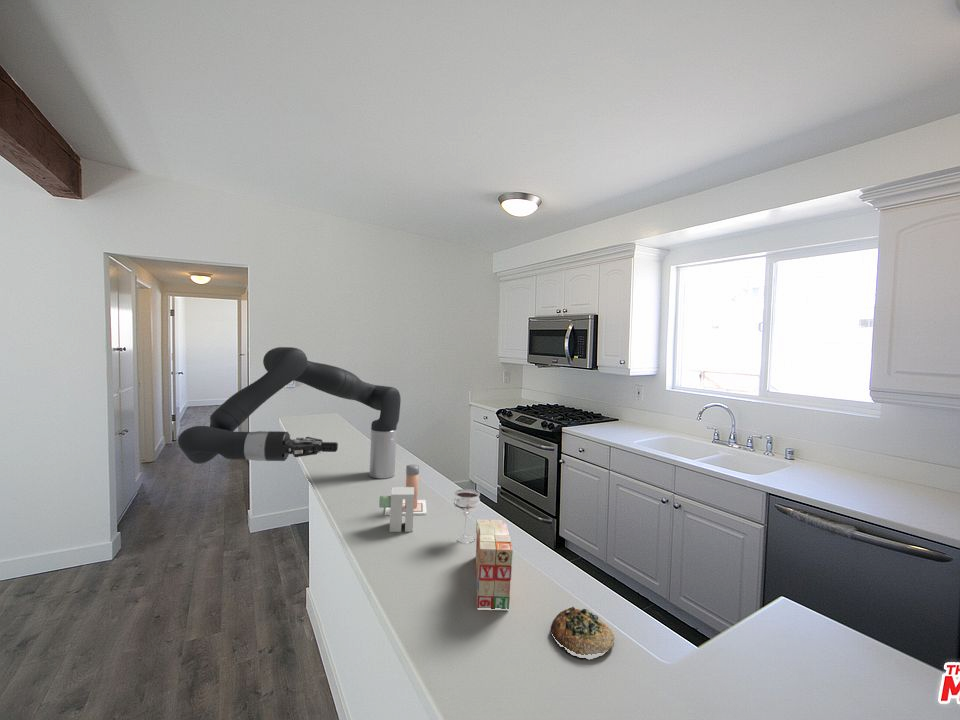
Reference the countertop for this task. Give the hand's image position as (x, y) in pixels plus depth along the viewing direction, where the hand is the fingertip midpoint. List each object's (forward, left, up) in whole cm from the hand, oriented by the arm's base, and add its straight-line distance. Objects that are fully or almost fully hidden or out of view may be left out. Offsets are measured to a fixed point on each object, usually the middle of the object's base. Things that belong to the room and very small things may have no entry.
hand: (337, 447), depth 117 cm
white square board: (-14, +19, -22) cm, 32 cm away
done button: (0, +13, -16) cm, 21 cm away
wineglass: (+8, +34, -22) cm, 41 cm away
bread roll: (+48, +50, -22) cm, 73 cm away
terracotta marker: (-13, +20, -21) cm, 32 cm away
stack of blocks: (+28, +37, -22) cm, 52 cm away
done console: (0, +18, -22) cm, 28 cm away
